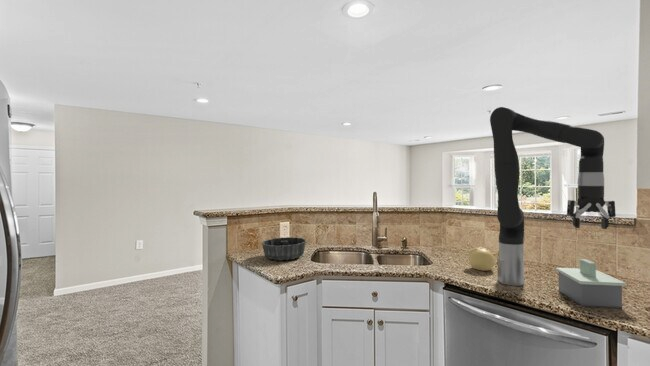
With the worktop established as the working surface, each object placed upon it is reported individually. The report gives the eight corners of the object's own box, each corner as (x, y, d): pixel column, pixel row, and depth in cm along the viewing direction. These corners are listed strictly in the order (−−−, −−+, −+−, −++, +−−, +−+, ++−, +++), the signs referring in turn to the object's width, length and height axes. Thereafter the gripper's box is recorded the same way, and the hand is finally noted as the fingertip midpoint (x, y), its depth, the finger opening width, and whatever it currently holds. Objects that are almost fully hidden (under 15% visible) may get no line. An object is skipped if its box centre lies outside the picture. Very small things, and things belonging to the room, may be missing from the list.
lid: (580, 285, 111) (580, 266, 111) (555, 271, 128) (555, 255, 128) (625, 287, 109) (625, 268, 109) (594, 273, 126) (594, 256, 126)
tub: (581, 306, 112) (581, 283, 112) (558, 290, 128) (558, 270, 128) (622, 308, 110) (621, 285, 110) (593, 292, 125) (593, 271, 125)
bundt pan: (255, 263, 181) (255, 245, 181) (269, 252, 207) (269, 236, 207) (301, 263, 177) (301, 245, 177) (310, 252, 203) (309, 237, 203)
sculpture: (489, 266, 165) (489, 245, 165) (498, 273, 153) (498, 250, 153) (466, 265, 166) (465, 245, 166) (473, 272, 155) (472, 250, 154)
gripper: (573, 184, 117) (573, 229, 118) (620, 184, 114) (619, 230, 114) (563, 184, 125) (563, 226, 125) (607, 184, 121) (607, 227, 121)
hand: (590, 228), depth 119 cm, fingers open, 8 cm apart
